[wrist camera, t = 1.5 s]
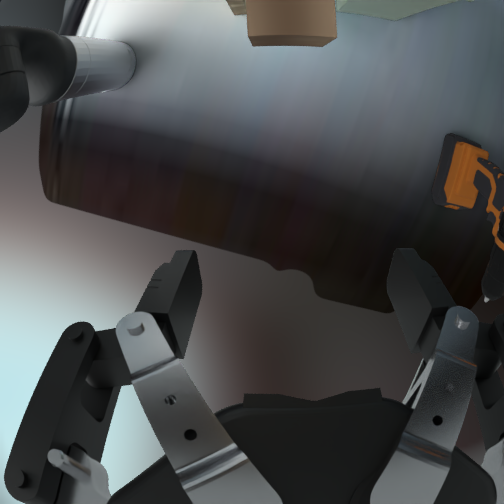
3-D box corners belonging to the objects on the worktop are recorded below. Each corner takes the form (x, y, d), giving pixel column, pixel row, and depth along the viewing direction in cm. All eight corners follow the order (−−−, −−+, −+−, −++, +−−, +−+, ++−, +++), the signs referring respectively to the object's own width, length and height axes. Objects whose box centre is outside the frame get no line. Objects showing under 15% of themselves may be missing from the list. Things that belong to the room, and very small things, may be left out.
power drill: (445, 231, 51) (509, 312, 30) (418, 226, 51) (480, 313, 30) (474, 132, 40) (567, 182, 19) (446, 121, 40) (544, 167, 19)
